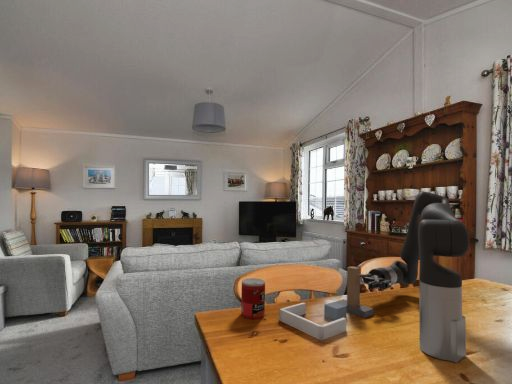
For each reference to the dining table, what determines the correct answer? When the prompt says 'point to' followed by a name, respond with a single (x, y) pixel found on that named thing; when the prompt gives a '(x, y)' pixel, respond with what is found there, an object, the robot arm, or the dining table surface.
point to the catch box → (310, 322)
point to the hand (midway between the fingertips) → (358, 283)
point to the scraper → (354, 294)
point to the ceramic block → (335, 311)
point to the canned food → (253, 298)
